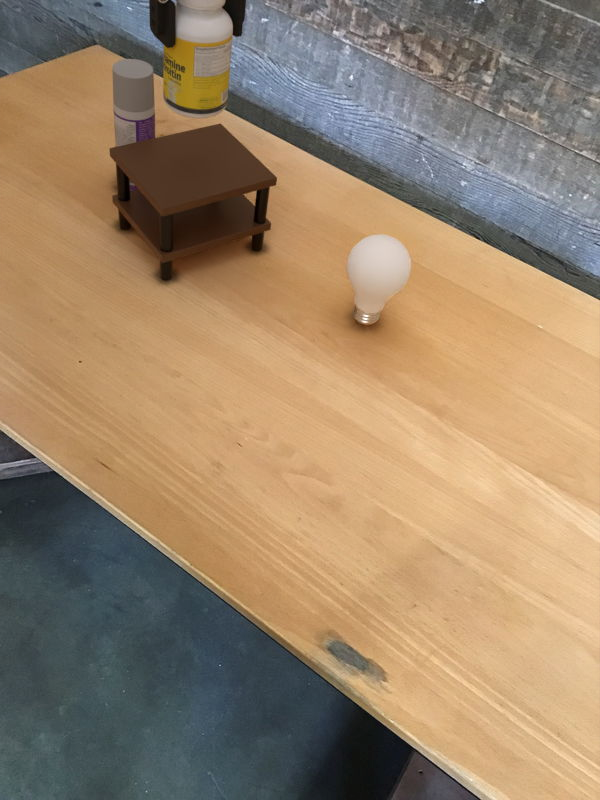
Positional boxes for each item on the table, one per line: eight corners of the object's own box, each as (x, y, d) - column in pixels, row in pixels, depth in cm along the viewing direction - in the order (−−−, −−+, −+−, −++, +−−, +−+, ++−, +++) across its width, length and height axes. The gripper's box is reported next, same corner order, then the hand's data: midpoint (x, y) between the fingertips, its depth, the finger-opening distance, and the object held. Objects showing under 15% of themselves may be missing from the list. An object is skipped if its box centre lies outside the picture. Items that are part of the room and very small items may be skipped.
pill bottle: (164, 86, 78) (164, -36, 70) (226, 91, 79) (234, -28, 71) (162, 118, 74) (162, -6, 66) (228, 124, 75) (237, 2, 67)
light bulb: (355, 292, 87) (375, 212, 79) (404, 320, 85) (430, 241, 77) (323, 321, 83) (340, 240, 75) (373, 351, 81) (397, 271, 73)
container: (151, 173, 97) (150, 57, 86) (159, 194, 94) (158, 78, 83) (114, 175, 96) (108, 58, 84) (121, 197, 93) (115, 79, 82)
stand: (162, 284, 84) (162, 208, 76) (113, 224, 89) (109, 147, 82) (268, 250, 90) (277, 177, 83) (216, 196, 96) (220, 123, 88)
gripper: (272, -212, 64) (253, 8, 77) (78, -215, 56) (94, 31, 70) (323, -185, 60) (294, 40, 74) (123, -184, 53) (131, 68, 66)
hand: (197, 34), depth 72 cm, fingers closed on pill bottle, 6 cm apart
